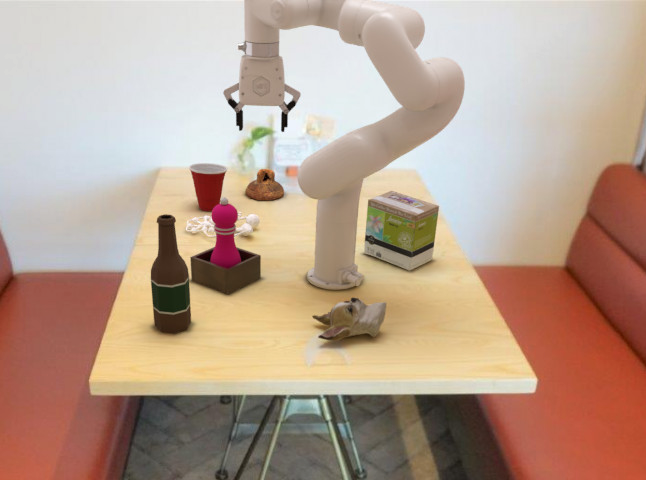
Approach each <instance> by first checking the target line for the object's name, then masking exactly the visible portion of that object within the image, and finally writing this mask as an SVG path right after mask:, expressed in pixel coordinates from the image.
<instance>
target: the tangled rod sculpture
mask: <svg viewBox="0 0 646 480" xmlns="http://www.w3.org/2000/svg"><path fill="white" fill-rule="evenodd" d="M200 219H202V220H203V221H200ZM243 220H245V222H244V223H243V224H242V225H241V226H239V227H236V232H235V233H234V238H235V237H237V236H240V235H241V236H244V237H248V236H251V235H252V234H253V233H254V229H256V228H257V227H258V226H259V225H260V222H261V220H260V217H259V216H258V215H257V214H256V213H250V214H248V215H246V216H242V212H241V211H239V212H238V219H237V221H238V222H239V221H243ZM237 221H236V222H237ZM191 222H192V223H191ZM214 225H215V223H214V222H213V220H212V217H211V216H209V215H207V214H206V215H203V216H198V217H197V216H194V217H193V218H191V219H188V220H187V221H186V227H185V231H186V232H191V234H193V235H196V234H197V233H198V232H202V233H203V234H204V235H205V236H207V237H209V238H216V234H214V233H215V232H214ZM208 233H209V234H208ZM212 234H213V235H212Z"/></svg>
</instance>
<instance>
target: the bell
mask: <svg viewBox="0 0 646 480" xmlns="http://www.w3.org/2000/svg"><path fill="white" fill-rule="evenodd" d="M275 176H276V174H275V171H274V170H272V169H268V168H261V169H259V170H258V171H257V173H256V179H254V180H252V181H250V183H248V184H247V186H246V188H245V195H246V196H247V197H248V198H250V199H253V200H257V201H272V200H277V199H279V198H282V197H283V196H284V194H285V189H284V187H283V185H282V184H281V183H280V182H278V181H276V179H275V178H276V177H275Z"/></svg>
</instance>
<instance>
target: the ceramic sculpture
mask: <svg viewBox="0 0 646 480" xmlns="http://www.w3.org/2000/svg"><path fill="white" fill-rule="evenodd" d="M386 309H387V302H386V301H382V302H374V303H370V304H366V303H365V302H364V300H363V299H360V298H359V297H351V298H350V300H344V301H340V302H337V303H336V304H335V305H334V306H332V308H331V309H330V311H328V312H327V313H324V314H321V315H315V314H314V315H311V316H312V319H314V320H315V321H318V322H319V323H321V324H324V325H325V326H326V325H327V326H330V327H328V328H326V329H325V331H324V332H323V333H321V334H319V335H318V336H317V338H319V339H322V340H326V341H331V342H337V341H340V340H343V339H344V338H348V337H353V336H358V335H363V334H368V335H370V336H371V337H373V338H374V337H376V336H377V335H378V334H379V330H380V329H381V326H382V324H383V323H384V321H385V318H386V317H385V316H386Z"/></svg>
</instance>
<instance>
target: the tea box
mask: <svg viewBox="0 0 646 480" xmlns="http://www.w3.org/2000/svg"><path fill="white" fill-rule="evenodd" d="M439 209H440V205H438V204H435V203H431V202H428V201H425V200H422V199H419V198H415V197H412V196H409V195H406V194H403V193H401V192H397V191H393V190H390V191H387V192H385V193H383V194H380V195H377V196H375V197H372V198H370V199H367V210H366V221H365V223H366V224H365V232H364V233H365V234H364V235H365V236H364V247H363V250H364V251H363V254H365V255H369V256H372V257H375V258H377V259H379V260H382V261H384V262H387V263H390V264H392V265H394V266H397V267H400V268H402V269H404V270H406V271H409V272H410V271H412V270H415V269H416V268H418V267H421V266H422V265H425V264H426V263H429V262H431V261H432V260H433V255H434V248H435V240H436V233H437V226H438V225H437V224H438V219H439V211H440V210H439Z"/></svg>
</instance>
